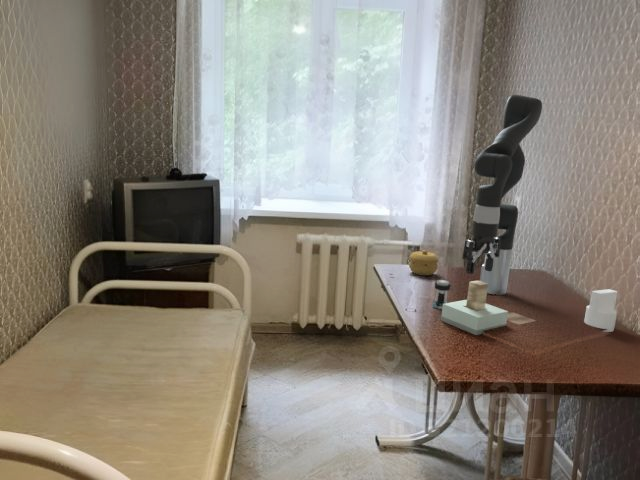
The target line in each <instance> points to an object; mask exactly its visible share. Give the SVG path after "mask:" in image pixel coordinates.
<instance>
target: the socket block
mask: <svg viewBox="0 0 640 480" xmlns="http://www.w3.org/2000/svg"><path fill="white" fill-rule="evenodd" d="M466 304H467V299H462V300H456V301H452V302H447V303H445V304H443V307H442V309H441V316H440V321H441V322H444V323H445V324H448V325H451V326H453V327H455V328H458V329H460V330H463V331H464V332H468V333H469V334H472V335H475V336H478V335H482V334H488V332H487V331H488V330H491V329H492V330H493V329H496V328H500V327H505V326H507V315H508V313H509V311H508V310H506V309H504V308H503V309H502V308H500V307H498V306H494V305H491V304H489V303H486V304H485V310H480V311H474V310H472V309H469V308H466Z"/></svg>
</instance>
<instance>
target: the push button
mask: <svg viewBox="0 0 640 480" xmlns="http://www.w3.org/2000/svg"><path fill="white" fill-rule="evenodd" d="M451 287H452V285H451V284H450V282H449V281H448V280H446V279H445V280H444V279H437V282H434V288H435V289H436V293H435V299H434V301H433V303H432V308H435V309H438V310H442V307H443V304H445V303H448V301H447V299H448V291H450V290H451Z"/></svg>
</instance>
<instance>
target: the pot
mask: <svg viewBox="0 0 640 480" xmlns="http://www.w3.org/2000/svg"><path fill="white" fill-rule="evenodd" d="M409 259H410V261H409V262H408V266H409V269H410V271H411V272H412V273H413V274H415V273H416V274H415V275H419V276H431V275H433V274H435V272H437V270H438V268H439V266H438V264H437V263H438V262H439V257H438V256H437V255H436V254H435V253H433V252H430V251H428V250H426V249H423V250H419V251H413V252H412V253H411V254H410V255H409Z"/></svg>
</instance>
